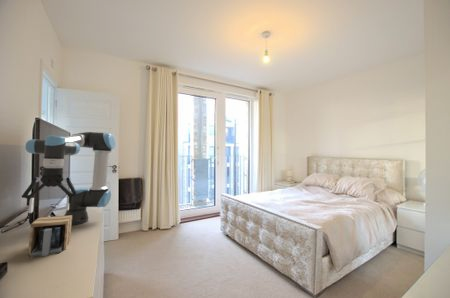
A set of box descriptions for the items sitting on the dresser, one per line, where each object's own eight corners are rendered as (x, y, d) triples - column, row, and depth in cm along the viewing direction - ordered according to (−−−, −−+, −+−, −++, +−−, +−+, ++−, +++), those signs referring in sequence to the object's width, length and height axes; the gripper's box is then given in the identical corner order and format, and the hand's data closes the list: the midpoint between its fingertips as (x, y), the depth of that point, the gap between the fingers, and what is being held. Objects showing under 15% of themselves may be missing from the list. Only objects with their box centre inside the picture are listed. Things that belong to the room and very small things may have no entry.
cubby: (36, 245, 103) (39, 217, 103) (70, 241, 110) (72, 214, 110) (28, 255, 93) (30, 224, 94) (65, 249, 100) (68, 220, 101)
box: (38, 250, 96) (40, 228, 97) (42, 245, 101) (44, 225, 102) (58, 247, 100) (60, 226, 100) (61, 243, 105) (63, 223, 105)
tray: (39, 245, 103) (41, 222, 103) (66, 242, 108) (68, 220, 108) (29, 258, 91) (31, 231, 91) (59, 253, 96) (61, 228, 96)
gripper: (14, 167, 87) (10, 215, 86) (83, 168, 99) (80, 210, 98) (21, 166, 93) (17, 211, 92) (85, 167, 105) (82, 207, 104)
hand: (49, 211), depth 95 cm, fingers open, 13 cm apart
